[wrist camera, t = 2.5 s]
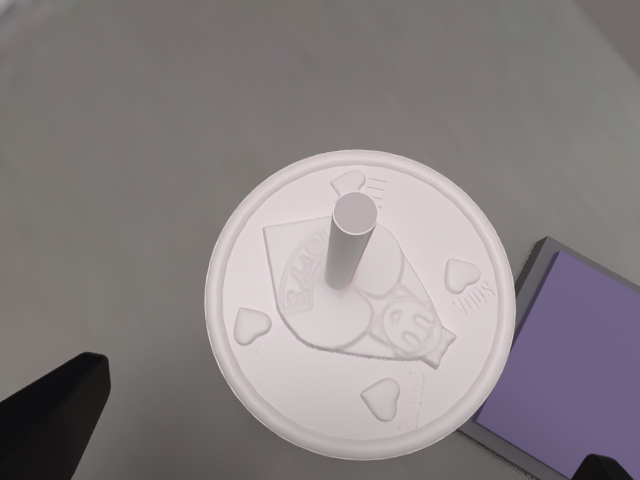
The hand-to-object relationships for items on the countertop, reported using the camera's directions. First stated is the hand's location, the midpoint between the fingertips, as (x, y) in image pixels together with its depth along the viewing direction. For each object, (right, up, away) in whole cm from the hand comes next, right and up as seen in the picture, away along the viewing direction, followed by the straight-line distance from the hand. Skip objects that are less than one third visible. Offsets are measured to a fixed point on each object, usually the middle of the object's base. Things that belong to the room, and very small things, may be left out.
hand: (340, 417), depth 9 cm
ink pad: (+10, -2, +10) cm, 14 cm away
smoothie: (0, 0, +10) cm, 10 cm away
